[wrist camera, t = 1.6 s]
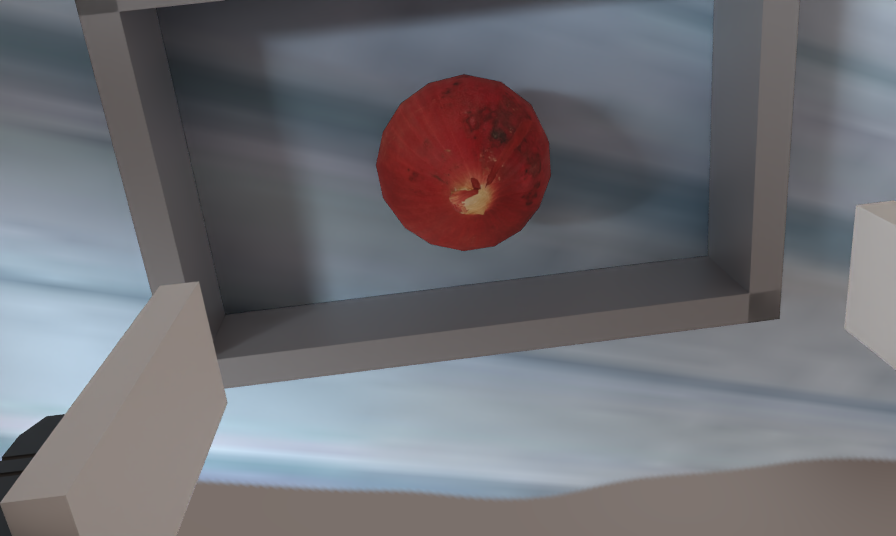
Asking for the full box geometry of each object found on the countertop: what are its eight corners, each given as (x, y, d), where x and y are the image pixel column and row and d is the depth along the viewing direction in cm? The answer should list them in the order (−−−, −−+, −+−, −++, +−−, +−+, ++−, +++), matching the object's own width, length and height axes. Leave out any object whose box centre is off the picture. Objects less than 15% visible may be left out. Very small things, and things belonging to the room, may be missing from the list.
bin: (202, 344, 32) (178, 394, 28) (111, -28, 27) (68, -27, 23) (734, 278, 33) (779, 318, 29) (749, -96, 28) (806, -105, 24)
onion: (436, 31, 28) (455, 55, 21) (559, 121, 30) (618, 173, 22) (349, 161, 30) (338, 226, 22) (470, 240, 31) (498, 325, 24)
